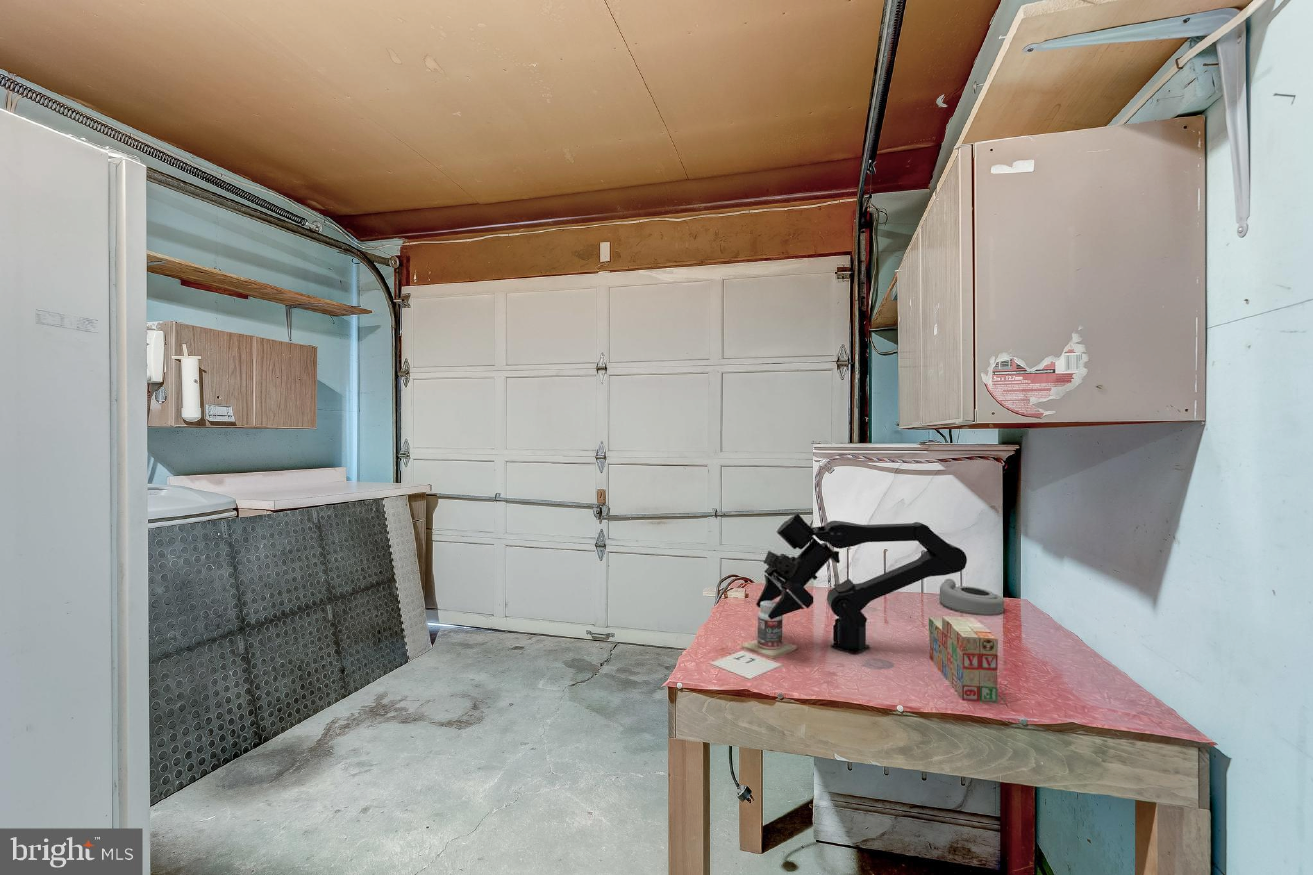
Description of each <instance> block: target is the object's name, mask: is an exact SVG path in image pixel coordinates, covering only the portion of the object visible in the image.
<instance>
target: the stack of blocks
mask: <svg viewBox="0 0 1313 875" xmlns="http://www.w3.org/2000/svg"><path fill="white" fill-rule="evenodd" d="M928 631H929V633H928V634H929V642H928V643H929V659H930V660H931V661H932V662H933V664H934V666H936V668H937V669H938V671H939V672H940V673H941V675H943V677H944V678H945V680H946V681H947V682H948V683H949V684H950V686H951V688H952V689H953V688H954V689H953V690H954V692H955V693H956V692H957V693H956V694H957V696H958V697H959V698H960V700H962V701H972V702H983V701H988V702H987V703H996V702H997V703H998V692H999V691H998V690H999V689H998V670H999V654H998V653H999V650H998V649H999V638H998V637H997V636H996V635H994V634H993V633H992V631H991V630H990V629H988V628H987V627H986V626H984V625H983V624H982V623H980V622H979V621H978V620H976V619H975V617H969V616H944V615H942V616H941V617H932V616H931V617H928Z"/></svg>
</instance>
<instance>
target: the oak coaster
mask: <svg viewBox="0 0 1313 875" xmlns="http://www.w3.org/2000/svg"><path fill="white" fill-rule="evenodd" d="M741 649H743V650H747V651H750V652H753V653H755V654H758V655H761V656H764V657H767V658H771V659H777V658H778V657H781V656H783V655H785V654H787V653H790V652H793V651H795V650H797V645H793V644H790V643H787V642H784V641H782V646H781V648H779V649H765V648H762V647H760V646H759V645H758V643H757V639H754V640H753V641H749V642H747V643H744V644H742V645H741Z"/></svg>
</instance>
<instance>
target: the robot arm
mask: <svg viewBox="0 0 1313 875" xmlns="http://www.w3.org/2000/svg"><path fill="white" fill-rule="evenodd" d="M776 533H777V535H778V536H779V537H781V539H783V540H784V541H785V543H787V545H789V547H791V548H792V549H793V550H796V549H799V550H802V551H801V552H800V553H799V554H798V556H797V557H796V556H794V555H793V556H789V555H786V554H785V553H781V554H780V555H779V554H777V553H774V551H770V550H768V551H767V554H766V557H764V561H763V564H765V565H766V566H768V567H766V569H765V570H764V579H765V580H764V581H765V585H764V587H763V589H762V592H761V593H760V595H759V597H758V599H757V602H756V603H755V605H756V606H757V608H760V603H761V602H762V601H775V600H776V599H777V598H779V597H780V598H779V599H778V600H777V601H776V602H777V603H776V605H775V606H774V607H773V609H772V610H771V612H770V613H769V615H768V617H769V618H770V619H771V620H772V619H774V618H777V617H780V616H782V617H783V616H784V615H787V614H790V613H793V612H797V611H799V610H804V609H805V608H807V610H808V609H809V608H810V607H811V606H812V605H813V604H814V595H812V594H811V593H810V592H809V591H808V590H807V589H806V585H808V583H809V582H810V581H811V580H813V581H816V580H817V579H818V576H817V574H818V573H819V571H820V570H822V568H823V567H824V566H825V565H826V564H827V563H828V562H829V561H830V560H831V562H833V563H836V564H839V563H840V562H841V560H840V551H839V550H841V549H846V548H851V547H856V546H858V545H861V544H866V543H883V542H884V543H887V542H890V543H891V542H918V543H919V545H921V546H922V547H923V548H924V549H925V551H924V552H923V553H922V554H921V555H920V556H919V557H918V558H917V559H915V560H912V561H910V562H908V563H905V564H903V565H900V566H898V567H896V568H893V569H892V570H889V571H886V572H884V573H882V574H879V575H877V576H874V577H873V578H870V579H868V580H865V581H863V582H859V583H854V582H853V581H852V579H850V578H847V579H845V580H844V581H842V582H841V583H837V584H833V587H832V588H831V589H829V591H828V593H827V596H826V601H827V604H828V606H829V608H830V609H831V611H832V613H833V615H834V616H836V617H838V618H835V619H834V624H833V626H832V632H833V634H832V637H833V638H832V639H833V640H832V641H833V643H831V645H830V647H831V648H834V649H837V650H841V651H844V652H847V653H850V654H855V655H857V654H859V653H862V652H863V651H865V650H867V649H870V645H869V644H867V639H866V638H867V620H868V619H867V617H866V616H865V613H863V611H862V610H864V609H865V608H866V607H867V606H868V604H870V603H871V602H872V601H874V600H876V599H879V598H881V597H885V596H886V595H889V594H892V593H893V592H895V591H898V590H900V589H904V588H905V587H908V586H911V585H912V584H914V583H917V582H920V581H922V580H925V579H927V578H931V577H938V576H941V577H943V576H948V575H952V574H956V573H959V572H962V571H963V570H964V569H966V567H967V566H966V565H967V562H968V558H967V554H966V553H965V552H964V550H963V549H962V548H960V547H957V546H956V545H953V544H951V543H949V542H946V541H945V540H944V539H943V538H941V536H939V535H938V534H937V533H935V532H934V531H933V530H932V529H931V527H929V525H926V524H924V523H922V522H919V521H915V522H908V523H880V524H878V523H877V524H860V523H855V522H849V521H842V520H831V521H829V522H827V523H826V524H825V525H821V526H820V525H819V526H815V527H814V526H813V527H811V526H810V524H808V523H807V521H805V520H804V519H803V517H802V516H801V515H800V514H799V513H797V512H796V513H795V514H794V515H793V516H791V517H790V518H788V519H787V520H785V521H784V522H783V523H782V524H781V525H780V526H779V527H778V529H777V530H776ZM814 536H815V537H814ZM816 538H817V539H816ZM818 540H819V541H818ZM820 542H822V543H820ZM826 543H828V544H829V545H830V546H831V547H833V548H835V549H838V550H833V549H831V547H829V545H828V544H826ZM804 607H805V608H804ZM760 609H761V608H760Z"/></svg>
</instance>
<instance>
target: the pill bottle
mask: <svg viewBox="0 0 1313 875" xmlns="http://www.w3.org/2000/svg"><path fill="white" fill-rule="evenodd" d="M777 602H778V601H775V600H772V601H762V602H761V603H760V611H759V612H758V613H757V639H756V640H757V643H758V645H759V646H760V647H762V648H765V649H779V648H781V646H782V642H783V615H782V616H780V617H777V618H774V619H772V620H771V619H770V618H769V617H768V615H769V613H770V612H771V610H772V609H773V607H774V606H775V605H776V603H777Z"/></svg>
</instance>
